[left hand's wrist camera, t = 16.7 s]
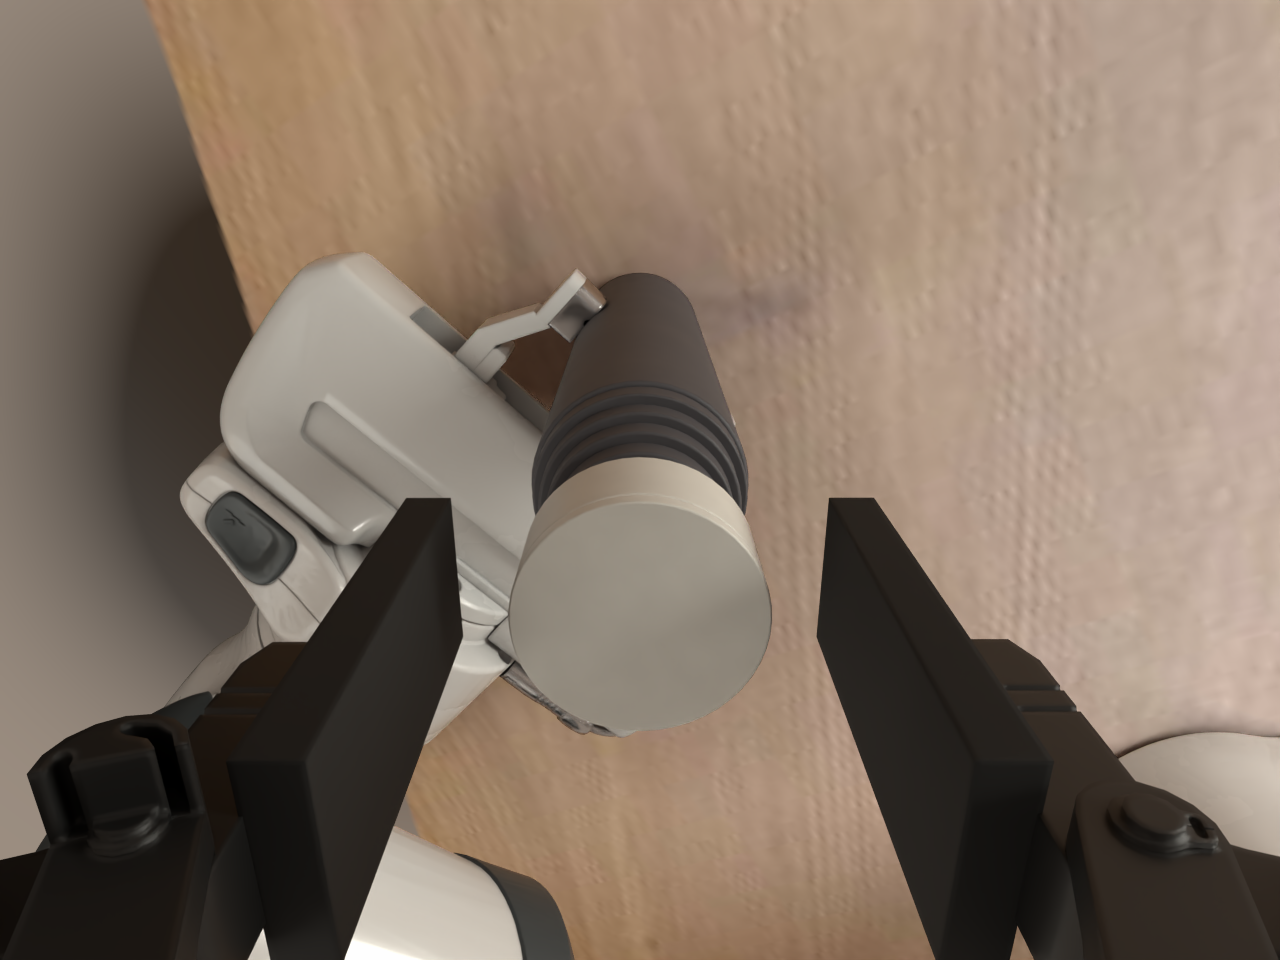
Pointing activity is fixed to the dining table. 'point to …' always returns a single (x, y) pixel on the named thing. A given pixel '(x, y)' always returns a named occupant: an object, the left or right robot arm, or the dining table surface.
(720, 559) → the cap
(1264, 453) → the dining table surface
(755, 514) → the dining table surface
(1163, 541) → the dining table surface
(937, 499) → the dining table surface
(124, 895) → the left robot arm
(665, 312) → the bottle
